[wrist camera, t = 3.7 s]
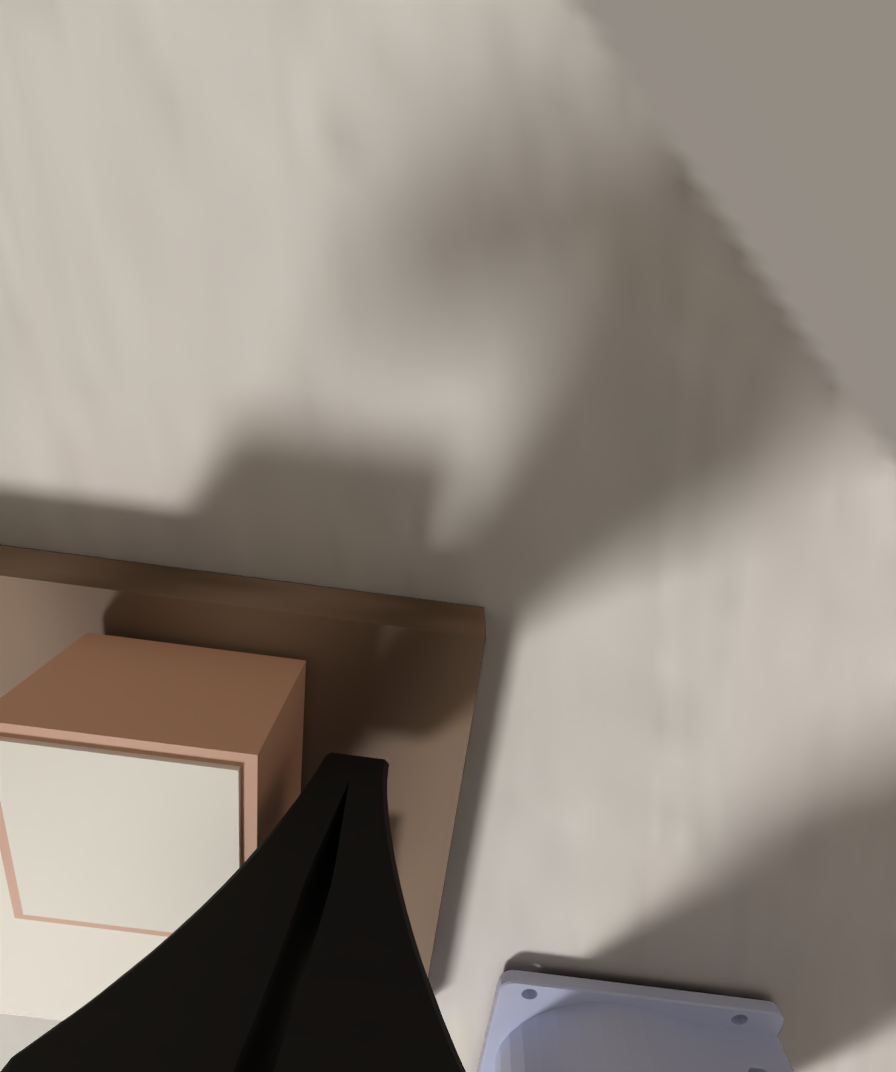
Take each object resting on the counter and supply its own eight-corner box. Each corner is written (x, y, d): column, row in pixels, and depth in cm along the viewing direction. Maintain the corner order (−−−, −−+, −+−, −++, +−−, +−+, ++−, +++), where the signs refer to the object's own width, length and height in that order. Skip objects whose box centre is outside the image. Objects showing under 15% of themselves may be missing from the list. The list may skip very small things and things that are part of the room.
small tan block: (305, 660, 12) (255, 759, 9) (299, 825, 14) (254, 952, 11) (87, 632, 12) (-33, 723, 9) (106, 801, 14) (10, 923, 11)
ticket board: (483, 607, 14) (487, 666, 11) (417, 1008, 19) (409, 1109, 17) (-267, 510, 13) (-436, 548, 11) (-120, 943, 19) (-210, 1035, 16)
